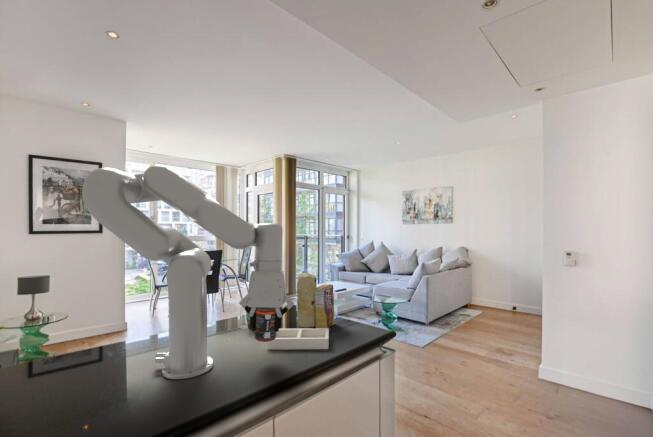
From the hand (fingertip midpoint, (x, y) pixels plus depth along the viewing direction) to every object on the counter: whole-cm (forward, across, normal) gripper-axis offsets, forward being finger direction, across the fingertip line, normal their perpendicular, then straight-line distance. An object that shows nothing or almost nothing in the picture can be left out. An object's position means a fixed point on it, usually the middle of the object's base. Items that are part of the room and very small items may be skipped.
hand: (265, 329), depth 89 cm
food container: (+9, -10, +29) cm, 32 cm away
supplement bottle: (+3, 0, 0) cm, 3 cm away
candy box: (+8, +16, +30) cm, 35 cm away
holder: (+8, +8, +13) cm, 18 cm away
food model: (+8, +9, +31) cm, 34 cm away
